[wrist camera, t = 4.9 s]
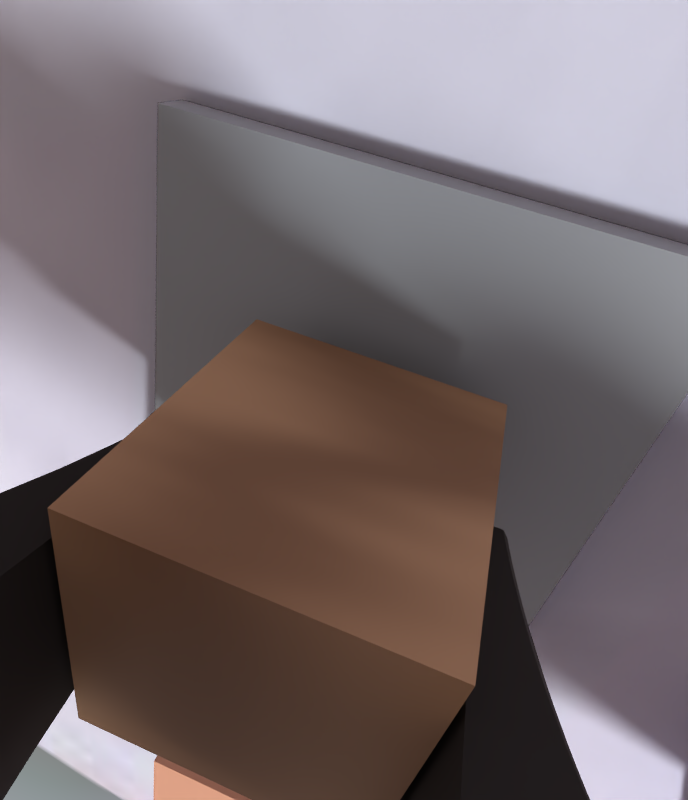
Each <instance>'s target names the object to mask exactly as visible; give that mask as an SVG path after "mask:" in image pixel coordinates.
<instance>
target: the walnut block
mask: <svg viewBox="0 0 688 800" xmlns="http://www.w3.org/2000/svg"><path fill="white" fill-rule="evenodd" d="M506 413H507V405H506V404H504V403H501V402H498V401H495V400H492V399H489V398H486V397H483V396H480V395H477V394H474V393H471V392H468V391H465V390H463V389H460V388H457V387H454V386H451V385H448V384H445V383H442V382H439V381H436V380H433V379H430V378H427V377H424V376H422V375H419V374H416V373H413V372H410V371H407V370H404V369H401V368H398V367H395V366H392V365H389V364H386V363H384V362H381V361H378V360H375V359H372V358H369V357H366V356H363V355H360V354H357V353H354V352H351V351H348V350H345V349H343V348H340V347H337V346H334V345H331V344H328V343H325V342H322V341H319V340H316V339H313V338H310V337H307V336H304V335H302V334H299V333H296V332H293V331H290V330H287V329H284V328H281V327H278V326H275V325H272V324H269V323H266V322H263V321H261V320H258V319H256V320H255V321H254V322H253V323H252V324H251V325H250V326H249V327H247V328H246V329H245V330H244V331H243V332H242V333H241V334H240V335H239V336H237V337H236V338H235V339H234V340H233V341H232V342H231V343H230V344H229V345H227V346H226V347H225V348H224V349H223V350H222V351H221V352H220V353H219V354H217V355H216V356H215V357H214V358H213V359H212V360H211V361H210V362H209V363H208V364H206V365H205V366H204V367H203V368H202V369H201V370H200V371H199V372H198V373H196V374H195V375H194V376H193V377H192V378H191V379H190V380H189V381H188V382H186V383H185V384H184V385H183V386H182V387H181V388H180V389H179V390H178V391H176V392H175V393H174V394H173V395H172V396H171V397H170V398H169V399H168V400H167V401H165V402H164V403H163V404H162V405H161V406H160V407H159V408H158V409H157V410H155V411H154V412H153V413H152V414H151V415H150V416H149V417H148V418H147V419H145V420H144V421H143V422H142V423H141V424H140V425H139V426H138V427H137V428H135V429H134V430H133V431H132V432H131V433H130V434H129V435H128V436H127V437H125V438H124V439H123V440H122V441H121V442H120V443H119V444H118V445H117V446H116V447H114V448H113V449H112V450H111V451H110V452H109V453H108V454H107V455H106V456H104V457H103V458H102V459H101V460H100V461H99V462H98V463H97V464H96V465H94V466H93V467H92V468H91V469H90V470H89V471H88V472H87V473H86V474H84V475H83V476H82V477H81V478H80V479H79V480H78V481H77V482H76V483H75V484H73V485H72V486H71V487H70V488H69V489H68V490H67V491H66V492H65V493H63V494H62V495H61V496H60V497H59V498H58V499H57V500H56V501H55V502H53V503H52V504H51V505H50V506H49V507H48V508H47V509H48V515H49V522H50V529H51V536H52V542H53V549H54V556H55V563H56V569H57V576H58V583H59V589H60V596H61V603H62V610H63V616H64V623H65V630H66V636H67V643H68V650H69V657H70V663H71V670H72V677H73V684H74V690H75V697H76V704H77V710H78V717H79V718H80V719H82V720H84V721H86V722H88V723H90V724H92V725H95V726H97V727H99V728H101V729H103V730H105V731H107V732H109V733H111V734H114V735H116V736H118V737H120V738H122V739H124V740H126V741H128V742H131V743H133V744H135V745H137V746H139V747H141V748H143V749H145V750H147V751H150V752H152V753H154V754H156V755H158V756H160V757H162V758H164V759H167V760H169V761H171V762H173V763H175V764H177V765H179V766H181V767H183V768H186V769H188V770H190V771H192V772H194V773H196V774H198V775H200V776H203V777H205V778H207V779H209V780H211V781H213V782H215V783H217V784H219V785H222V786H224V787H226V788H228V789H230V790H232V791H234V792H236V793H239V794H241V795H243V796H245V797H247V798H249V799H251V800H400V799H401V798H402V796H403V795H404V793H405V792H406V790H407V789H408V787H409V786H410V784H411V783H412V781H413V780H414V778H415V777H416V775H417V774H418V772H419V771H420V769H421V767H422V766H423V764H424V763H425V761H426V760H427V758H428V757H429V755H430V754H431V752H432V751H433V749H434V748H435V746H436V745H437V743H438V742H439V740H440V739H441V737H442V736H443V734H444V733H445V731H446V730H447V728H448V727H449V725H450V724H451V722H452V721H453V719H454V718H455V716H456V714H457V713H458V711H459V710H460V708H461V707H462V705H463V704H464V702H465V701H466V699H467V698H468V696H469V695H470V693H471V692H472V690H473V689H474V687H475V684H476V675H477V667H478V658H479V649H480V640H481V632H482V623H483V614H484V605H485V597H486V588H487V579H488V570H489V562H490V553H491V544H492V535H493V527H494V518H495V509H496V500H497V492H498V483H499V474H500V465H501V457H502V448H503V439H504V430H505V422H506Z"/></svg>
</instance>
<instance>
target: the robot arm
mask: <svg viewBox="0 0 688 800" xmlns="http://www.w3.org/2000/svg"><path fill="white" fill-rule="evenodd" d="M121 441H122V440H121ZM121 441H119V442H117V443H114V444H112V445H110V446H108V447H106V448H104V449H102V450H99V451H97V452H95V453H93V454H91V455H89V456H86V457H84V458H82V459H80V460H78V461H75V462H73V463H71V464H69V465H67V466H64V467H62V468H60V469H58V470H55V471H53V472H50V473H48V474H46V475H43V476H41V477H38V478H36V479H34V480H31V481H29V482H26V483H24V484H21V485H19V486H17V487H14V488H12V489H9V490H7V491H4V492H2V493H0V800H3V799H4V797H5V795H6V794H7V792H8V791H9V789H10V787H11V786H12V784H13V783H14V781H15V780H16V778H17V776H18V775H19V773H20V772H21V770H22V769H23V767H24V765H25V764H26V762H27V761H28V759H29V757H30V756H31V754H32V752H33V751H34V749H35V748H36V746H37V745H38V743H39V742H40V740H41V739H42V737H43V736H44V734H45V733H46V731H47V730H48V728H49V727H50V725H51V723H52V722H53V720H54V719H55V717H56V716H57V714H58V713H59V711H60V710H61V708H62V707H63V705H64V704H65V702H66V701H67V699H68V698H69V696H70V694H71V693H72V691H73V690H74V684H73V677H72V670H71V663H70V657H69V650H68V643H67V636H66V630H65V623H64V616H63V610H62V603H61V596H60V589H59V583H58V576H57V569H56V563H55V556H54V549H53V542H52V536H51V529H50V522H49V515H48V509H47V508H48V507H49V506H50V505H51V504H52V503H53V502H55V501H56V500H57V499H58V498H59V497H60V496H61V495H62V494H63V493H65V492H66V491H67V490H68V489H69V488H70V487H71V486H72V485H73V484H75V483H76V482H77V481H78V480H79V479H80V478H81V477H82V476H83V475H84V474H86V473H87V472H88V471H89V470H90V469H91V468H92V467H93V466H94V465H96V464H97V463H98V462H99V461H100V460H101V459H102V458H103V457H104V456H106V455H107V454H108V453H109V452H110V451H111V450H112V449H113V448H114V447H116V446H117V445H118V444H119V443H120V442H121ZM400 800H590V799H589V796H588V794H587V792H586V789H585V787H584V784H583V782H582V779H581V777H580V774H579V772H578V769H577V767H576V764H575V762H574V759H573V757H572V754H571V751H570V749H569V746H568V744H567V741H566V738H565V735H564V733H563V730H562V727H561V724H560V722H559V719H558V716H557V713H556V711H555V708H554V705H553V702H552V699H551V696H550V693H549V690H548V688H547V685H546V682H545V679H544V676H543V672H542V669H541V666H540V663H539V659H538V656H537V653H536V650H535V646H534V643H533V640H532V637H531V633H530V630H529V627H528V623H527V619H526V616H525V612H524V608H523V605H522V601H521V597H520V593H519V589H518V585H517V581H516V577H515V573H514V568H513V564H512V559H511V554H510V549H509V544H508V539H507V536H506V534H505V532H504V530H502V529H500V528H497V527H493V535H492V544H491V553H490V562H489V570H488V579H487V588H486V597H485V605H484V614H483V623H482V632H481V640H480V649H479V658H478V667H477V675H476V684H475V687H474V689H473V690H472V692H471V693H470V695H469V696H468V698H467V699H466V701H465V702H464V704H463V705H462V707H461V708H460V710H459V711H458V713H457V714H456V716H455V718H454V719H453V721H452V722H451V724H450V725H449V727H448V728H447V730H446V731H445V733H444V734H443V736H442V737H441V739H440V740H439V742H438V743H437V745H436V746H435V748H434V749H433V751H432V752H431V754H430V755H429V757H428V758H427V760H426V761H425V763H424V764H423V766H422V767H421V769H420V771H419V772H418V774H417V775H416V777H415V778H414V780H413V781H412V783H411V784H410V786H409V787H408V789H407V790H406V792H405V793H404V795H403V796H402V798H401V799H400Z"/></svg>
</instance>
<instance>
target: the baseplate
mask: <svg viewBox="0 0 688 800" xmlns="http://www.w3.org/2000/svg"><path fill="white" fill-rule="evenodd" d="M256 319H258V320H261V321H263V322H266V323H269V324H272V325H275V326H278V327H281V328H284V329H287V330H290V331H293V332H296V333H299V334H302V335H304V336H307V337H310V338H313V339H316V340H319V341H322V342H325V343H328V344H331V345H334V346H337V347H340V348H343V349H345V350H348V351H351V352H354V353H357V354H360V355H363V356H366V357H369V358H372V359H375V360H378V361H381V362H384V363H386V364H389V365H392V366H395V367H398V368H401V369H404V370H407V371H410V372H413V373H416V374H419V375H422V376H424V377H427V378H430V379H433V380H436V381H439V382H442V383H445V384H448V385H451V386H454V387H457V388H460V389H463V390H465V391H468V392H471V393H474V394H477V395H480V396H483V397H486V398H489V399H492V400H495V401H498V402H501V403H504V404H506V405H507V413H506V422H505V430H504V439H503V448H502V457H501V465H500V474H499V483H498V492H497V500H496V509H495V518H494V527H497V528H500V529H502V530H504V532H505V534H506V536H507V539H508V544H509V549H510V554H511V559H512V564H513V568H514V573H515V577H516V581H517V585H518V589H519V593H520V597H521V601H522V605H523V608H524V612H525V616H526V619H527V623H528V626H529V625H530V623H531V622H532V620H533V619H534V617H535V616H536V614H537V613H538V611H539V610H540V609H541V607H542V606H543V604H544V603H545V601H546V600H547V598H548V597H549V595H550V594H551V592H552V591H553V590H554V588H555V587H556V585H557V584H558V582H559V581H560V579H561V578H562V576H563V575H564V573H565V572H566V571H567V569H568V568H569V566H570V565H571V563H572V562H573V560H574V559H575V557H576V556H577V554H578V553H579V552H580V550H581V549H582V547H583V546H584V544H585V543H586V541H587V540H588V538H589V537H590V535H591V534H592V532H593V531H594V530H595V528H596V527H597V525H598V524H599V522H600V521H601V519H602V518H603V516H604V515H605V513H606V512H607V511H608V509H609V508H610V506H611V505H612V503H613V502H614V500H615V499H616V497H617V496H618V494H619V493H620V492H621V490H622V489H623V487H624V486H625V484H626V483H627V481H628V480H629V478H630V477H631V475H632V474H633V473H634V471H635V470H636V468H637V467H638V465H639V464H640V462H641V461H642V459H643V458H644V456H645V455H646V454H647V452H648V451H649V449H650V448H651V446H652V445H653V443H654V442H655V440H656V439H657V437H658V436H659V434H660V433H661V432H662V430H663V429H664V427H665V426H666V424H667V423H668V421H669V420H670V418H671V417H672V415H673V414H674V413H675V411H676V410H677V408H678V407H679V405H680V404H681V402H682V401H683V399H684V398H685V396H686V395H687V394H688V245H686V244H683V243H680V242H676V241H673V240H669V239H666V238H662V237H659V236H655V235H652V234H648V233H645V232H641V231H638V230H634V229H631V228H627V227H624V226H620V225H617V224H613V223H610V222H606V221H603V220H599V219H596V218H592V217H589V216H585V215H582V214H579V213H575V212H572V211H568V210H565V209H561V208H558V207H554V206H551V205H547V204H544V203H540V202H537V201H533V200H530V199H526V198H523V197H519V196H516V195H512V194H509V193H505V192H502V191H498V190H495V189H491V188H488V187H485V186H481V185H478V184H474V183H471V182H467V181H464V180H460V179H457V178H453V177H450V176H446V175H443V174H439V173H436V172H432V171H429V170H425V169H422V168H418V167H415V166H411V165H408V164H404V163H401V162H397V161H394V160H390V159H387V158H384V157H380V156H377V155H373V154H370V153H366V152H363V151H359V150H356V149H352V148H349V147H345V146H342V145H338V144H335V143H331V142H328V141H324V140H321V139H317V138H314V137H310V136H307V135H303V134H300V133H296V132H293V131H289V130H286V129H283V128H279V127H276V126H272V125H269V124H265V123H262V122H258V121H255V120H251V119H248V118H244V117H241V116H237V115H234V114H230V113H227V112H223V111H220V110H216V109H213V108H209V107H206V106H202V105H199V104H195V103H192V102H189V101H185V100H177V101H168V102H160V103H158V113H157V235H156V356H155V410H157V409H158V408H159V407H160V406H161V405H162V404H163V403H164V402H165V401H167V400H168V399H169V398H170V397H171V396H172V395H173V394H174V393H175V392H176V391H178V390H179V389H180V388H181V387H182V386H183V385H184V384H185V383H186V382H188V381H189V380H190V379H191V378H192V377H193V376H194V375H195V374H196V373H198V372H199V371H200V370H201V369H202V368H203V367H204V366H205V365H206V364H208V363H209V362H210V361H211V360H212V359H213V358H214V357H215V356H216V355H217V354H219V353H220V352H221V351H222V350H223V349H224V348H225V347H226V346H227V345H229V344H230V343H231V342H232V341H233V340H234V339H235V338H236V337H237V336H239V335H240V334H241V333H242V332H243V331H244V330H245V329H246V328H247V327H249V326H250V325H251V324H252V323H253V322H254V321H255V320H256Z"/></svg>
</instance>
